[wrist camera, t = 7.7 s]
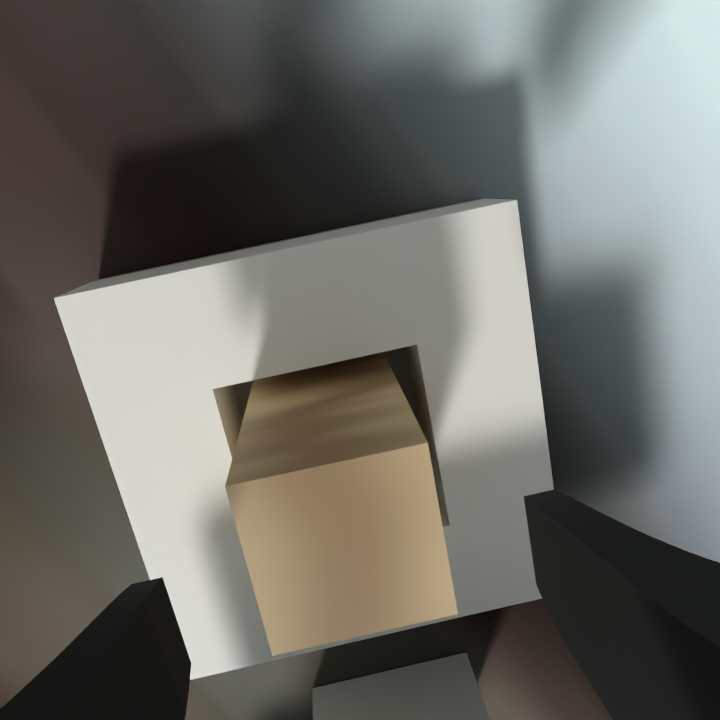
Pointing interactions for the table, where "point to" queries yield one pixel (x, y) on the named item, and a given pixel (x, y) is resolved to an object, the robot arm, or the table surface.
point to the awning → (406, 694)
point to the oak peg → (338, 506)
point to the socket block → (306, 350)
